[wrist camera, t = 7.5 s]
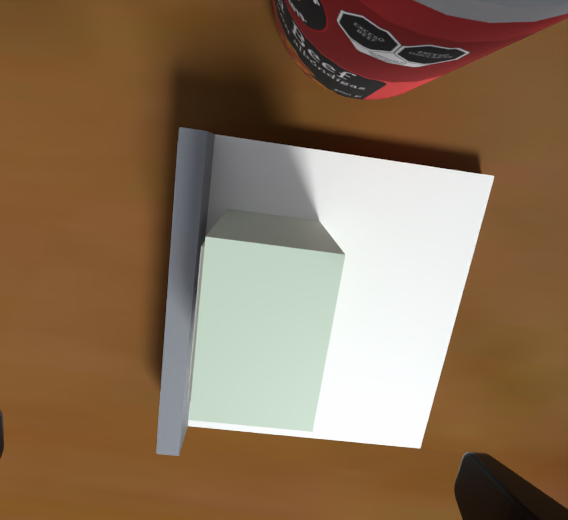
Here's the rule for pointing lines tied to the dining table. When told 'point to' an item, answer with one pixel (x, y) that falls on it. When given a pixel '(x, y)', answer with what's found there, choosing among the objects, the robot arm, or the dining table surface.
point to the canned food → (401, 38)
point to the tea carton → (263, 320)
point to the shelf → (354, 281)
